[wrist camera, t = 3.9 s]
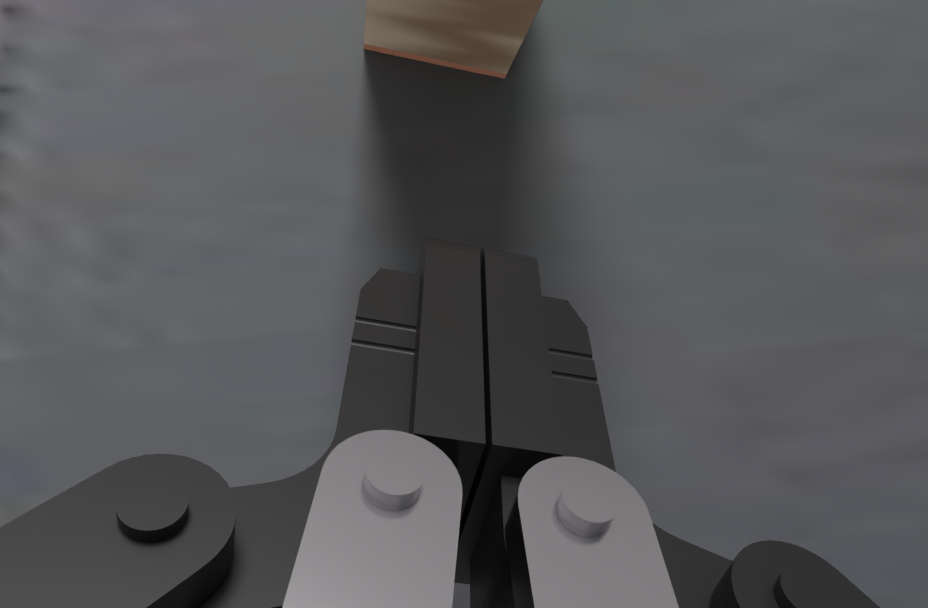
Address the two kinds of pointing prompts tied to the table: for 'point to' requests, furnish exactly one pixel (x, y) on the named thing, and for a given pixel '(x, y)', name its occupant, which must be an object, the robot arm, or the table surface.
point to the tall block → (451, 31)
